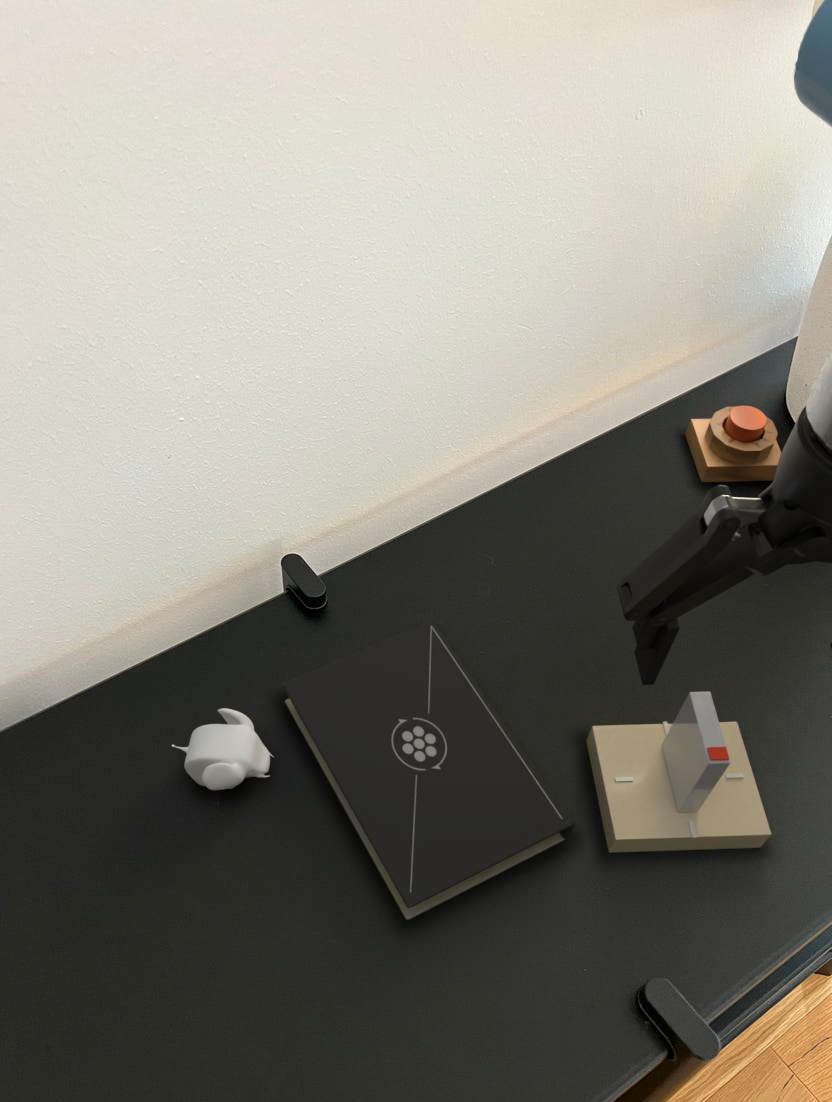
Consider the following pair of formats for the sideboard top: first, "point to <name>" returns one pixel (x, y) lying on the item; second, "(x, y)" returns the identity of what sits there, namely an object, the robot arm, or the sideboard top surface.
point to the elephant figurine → (226, 752)
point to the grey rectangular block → (695, 752)
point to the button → (745, 424)
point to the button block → (731, 451)
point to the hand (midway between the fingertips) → (742, 664)
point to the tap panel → (670, 794)
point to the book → (425, 768)
